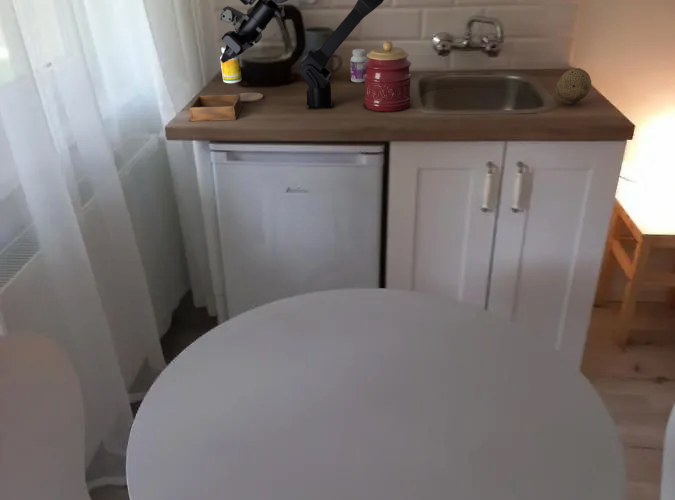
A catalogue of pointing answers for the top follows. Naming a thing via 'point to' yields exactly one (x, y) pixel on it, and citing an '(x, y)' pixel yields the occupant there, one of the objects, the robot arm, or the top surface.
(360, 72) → the pill bottle
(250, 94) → the coaster
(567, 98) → the natural sponge
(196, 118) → the wooden tray
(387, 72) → the kitchen canister
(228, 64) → the supplement bottle
